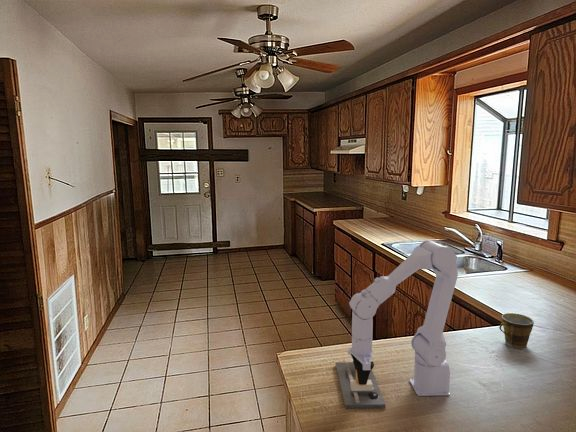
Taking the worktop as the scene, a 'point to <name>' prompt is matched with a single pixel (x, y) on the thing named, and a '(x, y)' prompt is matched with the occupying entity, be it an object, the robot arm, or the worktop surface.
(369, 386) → the block with orange knob
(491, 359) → the worktop surface
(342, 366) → the hole plate
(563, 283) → the worktop surface
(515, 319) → the ceramic cup
